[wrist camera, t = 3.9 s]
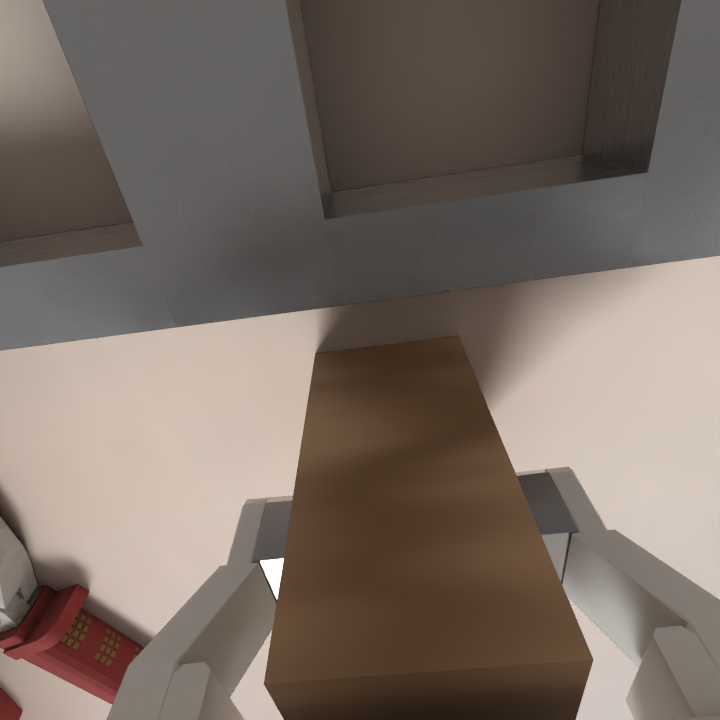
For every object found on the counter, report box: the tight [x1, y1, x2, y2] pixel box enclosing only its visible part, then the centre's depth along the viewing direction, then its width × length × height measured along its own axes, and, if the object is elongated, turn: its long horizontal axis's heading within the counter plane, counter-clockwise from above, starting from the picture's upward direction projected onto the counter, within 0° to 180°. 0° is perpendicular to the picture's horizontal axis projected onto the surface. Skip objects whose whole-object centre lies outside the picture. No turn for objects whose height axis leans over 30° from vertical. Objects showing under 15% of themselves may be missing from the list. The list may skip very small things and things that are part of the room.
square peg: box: [264, 336, 593, 720], centre depth 10 cm, size 4×4×8 cm
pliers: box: [0, 517, 144, 720], centre depth 19 cm, size 12×20×3 cm, turn 178°
